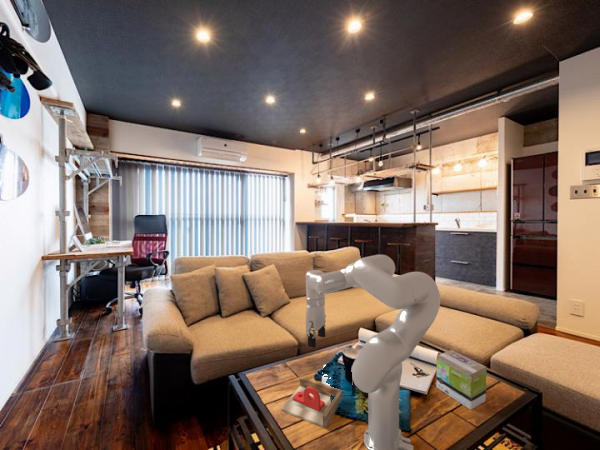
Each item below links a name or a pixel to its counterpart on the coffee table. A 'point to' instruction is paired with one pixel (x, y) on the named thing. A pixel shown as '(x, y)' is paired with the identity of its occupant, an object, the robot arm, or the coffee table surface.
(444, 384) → the tea box
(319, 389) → the tray
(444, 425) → the coffee table surface
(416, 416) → the coffee table surface
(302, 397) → the bracket
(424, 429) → the coffee table surface
